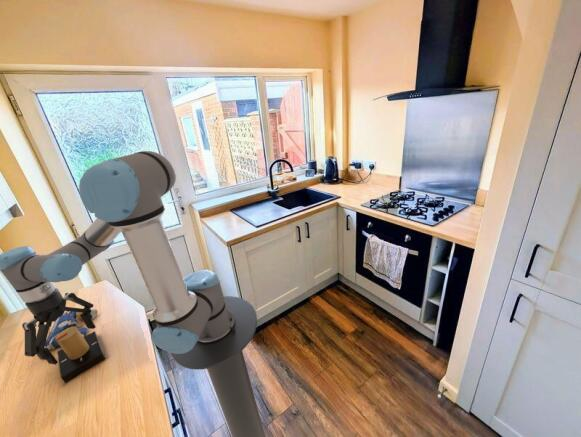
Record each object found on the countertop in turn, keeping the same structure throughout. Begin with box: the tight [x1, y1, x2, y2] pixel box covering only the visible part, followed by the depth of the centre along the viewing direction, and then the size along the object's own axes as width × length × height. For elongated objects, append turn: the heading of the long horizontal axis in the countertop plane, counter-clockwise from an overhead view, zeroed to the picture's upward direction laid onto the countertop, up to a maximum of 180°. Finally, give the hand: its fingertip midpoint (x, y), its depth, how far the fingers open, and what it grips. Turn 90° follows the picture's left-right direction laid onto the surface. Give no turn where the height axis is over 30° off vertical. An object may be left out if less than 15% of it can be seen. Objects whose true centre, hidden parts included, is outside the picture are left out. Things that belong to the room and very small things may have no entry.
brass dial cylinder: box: [56, 326, 89, 360], centre depth 82 cm, size 6×6×9 cm
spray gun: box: [44, 308, 99, 351], centre depth 98 cm, size 21×4×15 cm
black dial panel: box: [57, 330, 107, 384], centre depth 85 cm, size 14×11×3 cm
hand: (74, 344), depth 83 cm, fingers open, 13 cm apart
